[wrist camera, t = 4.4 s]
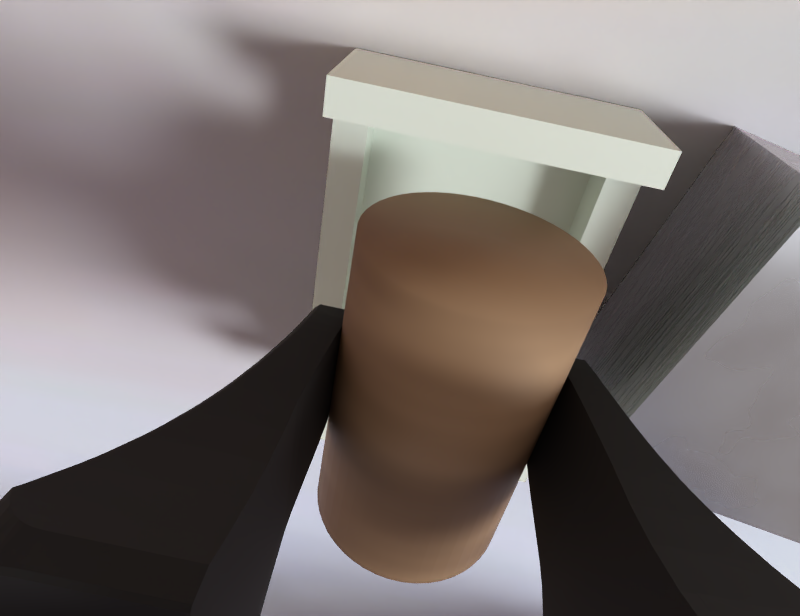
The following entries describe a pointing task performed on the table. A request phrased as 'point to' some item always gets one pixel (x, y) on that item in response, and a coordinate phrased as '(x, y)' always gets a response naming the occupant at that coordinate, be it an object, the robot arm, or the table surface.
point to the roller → (446, 375)
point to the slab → (718, 337)
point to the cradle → (477, 154)
